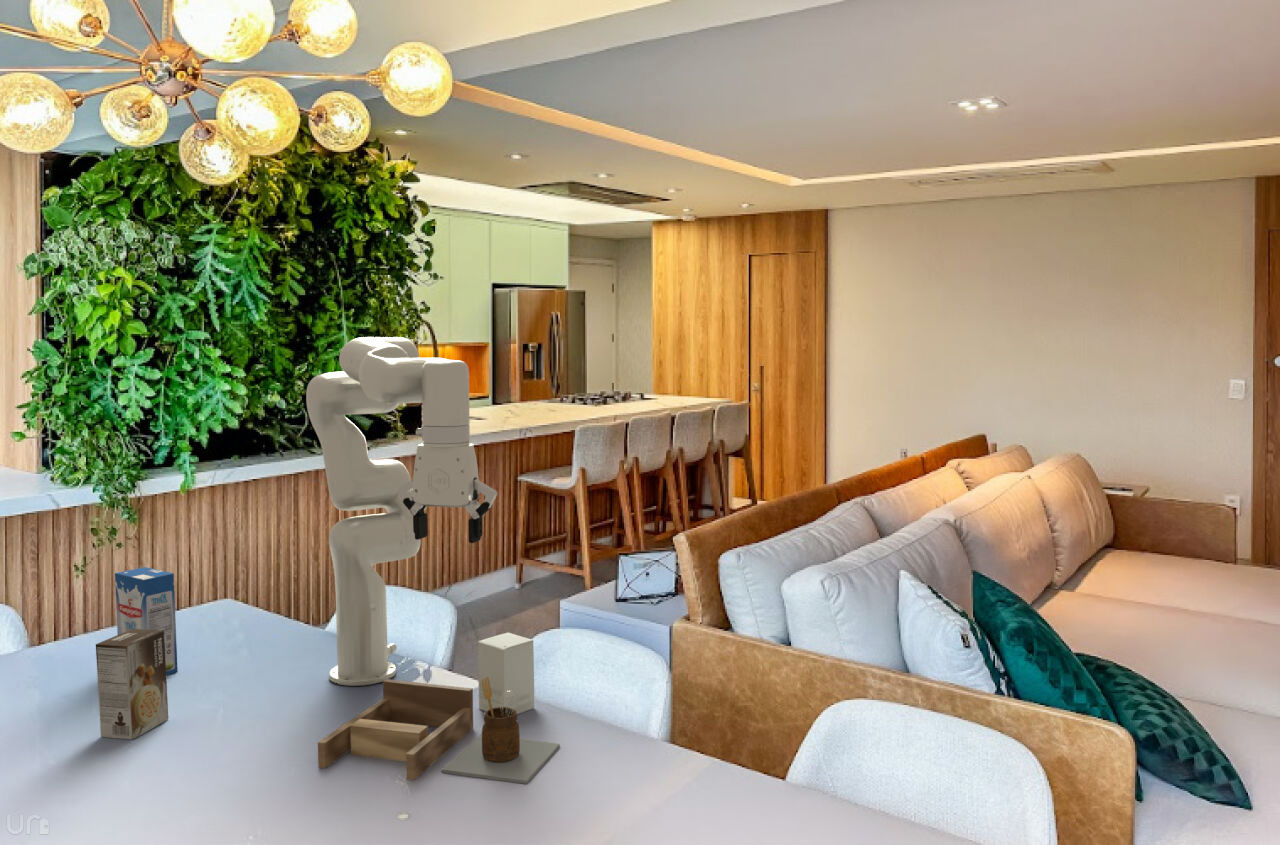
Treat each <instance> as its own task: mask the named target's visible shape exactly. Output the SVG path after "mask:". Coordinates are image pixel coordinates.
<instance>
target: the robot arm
mask: <svg viewBox="0 0 1280 845" xmlns="http://www.w3.org/2000/svg"><path fill="white" fill-rule="evenodd" d="M338 361H339V366H340V368H341V370H342V371H333V372H325V373H322V374H318V375H315V376H314V377H313V378H312V379H311V380H310V381H309V383H308V384H307V387H306V393H305V395H306V399H305V401H306V408H307V413H308V417H309V420H310V422H311V425H312V427H313V429H314V432H315V433H316V435H317V438H318V440H319V443H320V445H321V446H320V447H321V450H322V455H323V458H322V459H323V464H324V469H325V470H324V471H325V476H326V480H327V482H326V483H327V488H328V492H329V497H330V500H331V503H332V505H333V507H335V508H336V509H337V510H339V511H344V512H345V511H346V512H347V511H348V512H350V511H364V510H372V509H373V510H374V509H379V508H380V509H381V508H383V509H385V510H386V512H387V513H385V512H384V513H377V514H376V513H375V514H365V515H364V514H363V515H358V516H357V515H356V516H351V517H346V518H343V519H341V520H338V522H336V523H334V524H333V526H332V527H331V528H330V530H329V533H328V534H329V535H328V543H329V550H330V555H331V559H332V560H331V561H332V565H333V574H334V584H335V585H334V586H335V587H334V589H335V615H336V616H335V617H336V622H335V624H336V651H337V652H336V653H337V654H336V656H337V657H336V658H337V665H336V666H334V667H333V668H331V670H330V671H329V680H330V681H331V682H333V683H335V684H336V683H337V685H342V686H348V687H349V686H351V687H357V686H358V687H361V686H362V687H363V686H370V685H375V684H379V683H383V681H384V680H386V679H390V680H391V679H392V678H393V677H394V676H395V675H396V674H397V673H396V672H397V666H396V665H395V664H394V663H393V662H390V661H389V657H390V655H392V654H393V653H395V652H396V651H397V649H398V648H397V645H396V644H395V643H392V642H391V643H389V644H388V621H387V620H388V614H387V611H388V610H387V609H388V606H387V587H386V584H385V581H384V579H383V578H382V576H381V575H379V573H378V572H377V571H376V570H375V568H374V565H376V564H381V563H388V562H395V561H400V560H407V559H410V558H412V557H414V556H416V555H417V553H419V550H420V549H421V548H420V547H421V542H422V541H421V540H422V539H424V538H426V537H428V535H429V534H428V533H429V532H428V528H429V527H428V513H427V512H425V510H426V509H427V508H428V507H438V508H464V509H465V510H466V511H467V513H468V514H469V515H470V517H471V518H469V519H468V520H467V521H468V522H467V524H468V542H469V543H470V544H476V543H477V542H479V541H481V539H482V537H483V517H484V516H485V515H486V514H487V513H488V511H489V510H490V509H491V508H492V507H493V503H495V500H496V498H497V496H498V491H497V490H496V489H494V488H492V487H491V486H489V485H488V484H486V483H484V482H482V481H481V480H480V478H479V467H478V460H477V455H476V451H475V447H474V444H473V443H470V442H471V441H470V440H471V438H470V435H471V434H470V433H471V432H470V431H471V429H470V424H471V423H470V422H471V421H470V369H469V367H468V364H467V363H466V362H465V361H462V360H455V359H447V358H443V357H420V354H419V351H418V349H417V347H416V344H414V342H412V341H411V340H410V339H408V338H405V337H401V336H400V337H398V336H393V337H390V336H389V337H388V336H385V337H384V336H383V337H381V336H375V337H374V336H367V337H366V336H365V337H364V336H363V337H357V338H354V339H351V340H349V341H348V342H347V343H345V344H344V346H342V348H341V350H340V353H339V357H338ZM418 403H419V404H420V403H421V404H422V405H421V406H422V410H421V412H422V413H421V414H422V417H421V419H422V425H421V427H420V428H419V427H417V428H416V430H415V435H416V437H420V438H421V441H422V443H420V444H418V445H417V448H416V452H415V460H414V466H413V477H412V478H413V479H412V478H411V475H410V473H409V470H408V469H407V468H406V466H405V464H404V463H402V462H401V461H399V460H396V459H379V460H378V459H377V460H372V459H371V458H370V455H369V450H368V446H367V445H368V444H367V441H366V436H365V435H364V434H363V432H362V431H361V430H360V429H359V427H357V426H356V425H355V423H353V422H352V421H351V420H350V419H349V418H348V417H346V415H368V414H369V415H371V414H387V413H390V412H393V411H394V410H396V409H397V408H398V406H399V405H403V404H418ZM480 493H481V494H482V495H483V496H484V500H483V501H482V503H480V502H479V499H480Z"/></svg>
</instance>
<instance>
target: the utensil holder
mask: <svg viewBox="0 0 1280 845" xmlns="http://www.w3.org/2000/svg"><path fill="white" fill-rule="evenodd" d="M484 681H485V685H484ZM484 681H483V679H482V686H483V691H484V697H485V698H486V699H488V702H489V707H490V709H489V710H487V711H484V712H485V713H484V714H483V722H484V723H483V725H482V728H481V734H482V754H483V757H484V758H485V759H486V760H488V761H491V762H507V761H511V760H513V759H515V758H516V757H517V756H518V755H519V750H520V739H521V738H520V736H521V735H520V734H521V732H520V731H521V730H520V725H519V722H518V721H517V720H518V714H517V712H516V711H515V710H514V709H512V708H508V707H509V705H508V707H501V703H500V707H496V708H492V705H491V700H490V699H491V697H492V691H491V686H490V682H489V677H487V681H486V678H484ZM487 682H488V686H487ZM485 687H486V690H485ZM488 688H489V690H488ZM507 691H508V690H507ZM507 691H506V692H507ZM509 691H510V690H509ZM510 692H511V693H512V691H510ZM504 693H505V692H504ZM504 693H503V695H504ZM508 694H509V692H508ZM512 694H513V697H514V694H515V693H514V692H513V693H512ZM505 696H506V695H505ZM501 699H502V697H501ZM509 700H510V698H509ZM502 701H503V699H502ZM507 701H508V699H507ZM515 703H516V701H515ZM503 704H504V702H503ZM512 704H513V702H512ZM511 707H512V706H511ZM513 707H514V705H513ZM514 708H515V707H514Z"/></svg>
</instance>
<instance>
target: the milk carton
mask: <svg viewBox="0 0 1280 845" xmlns="http://www.w3.org/2000/svg"><path fill="white" fill-rule="evenodd" d="M174 575H175V574H174V573H173V572H168V571H165V570H160V569H155V568H151V567H146V566H144V567H138V568H135V569H130V570H129V569H128V570H125V571H120V572H114V583H115V584H114V585H115V586H114V587H115V605H116V606H115V607H116V609H115V610H116V629H117V631H116V632H117V635H119V634H122V633H124V632H127V631H129V630H131V629H146V630H164V643H165V661H166V677H167V676H169V675H173V674H176V673H178V672H179V671H178V648H177V646H178V645H177V644H178V643H177V625H176V624H177V622H176V621H177V620H176V600H175V598H176V596H175V576H174Z"/></svg>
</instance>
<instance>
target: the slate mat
mask: <svg viewBox="0 0 1280 845" xmlns="http://www.w3.org/2000/svg"><path fill="white" fill-rule="evenodd" d="M560 746H561V745H560V743H555V742H548V741H540V740H531V739H524V738H523V739H522V738H520V750H519V755H518V756H517V757H516V758H515V759H513V760H511V761H507V762H491V761H488V760H486V759H485V758H484V757H483V754H482V733H480V734H479V735H478V736H477V737H476V738H475V739H474V740H472V741H471V742H470V743H469V744H468V745H467V746H466V747H464V749H462V750H461V752H459V753H458V754H457V755H456V756H455V757H454V758H453V759H451V760H450V761H449V762H448V763H447V764H446V765H445V766H443V767H442V768H441V773H443V774H450V775H456V776H457V775H459V776H465V777H473V778H478V779H479V778H481V779H488V780H496V781H502V782H510V783H519V784H524V785H525V784H526V785H527V784H528V783H529V782H530V781H531V780H532V779H533V777H534V776H535V775H537V773H538V772H539V771H540V770H541V769H542V767H543V766H544V765H545V764H546V763H547V761H549V760H550V758H551V757H552V756H553V755H554V754H555V753H556V751H557V750H559V748H560Z"/></svg>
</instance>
